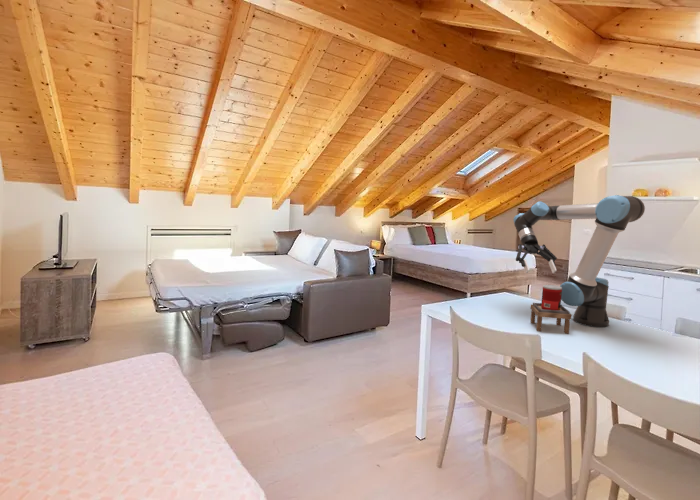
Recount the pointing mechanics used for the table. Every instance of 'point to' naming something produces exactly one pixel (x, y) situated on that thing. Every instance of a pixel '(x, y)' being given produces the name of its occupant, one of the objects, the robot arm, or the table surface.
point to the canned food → (551, 297)
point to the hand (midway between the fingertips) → (541, 271)
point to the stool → (550, 316)
